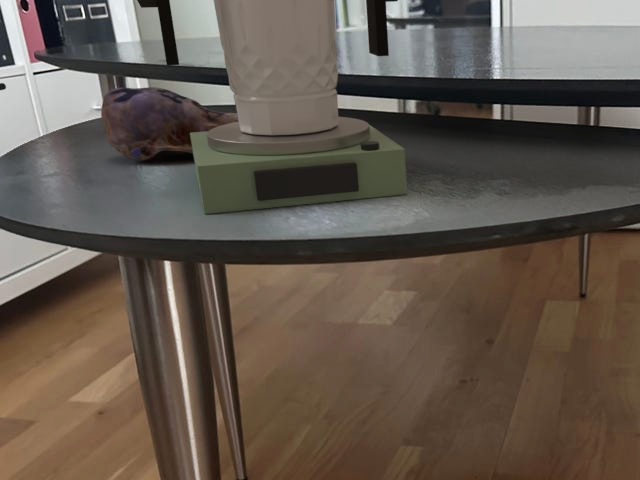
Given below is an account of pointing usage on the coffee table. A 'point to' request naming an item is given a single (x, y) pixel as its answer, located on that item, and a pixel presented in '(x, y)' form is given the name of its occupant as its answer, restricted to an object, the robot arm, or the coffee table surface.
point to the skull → (155, 121)
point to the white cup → (281, 64)
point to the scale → (298, 175)
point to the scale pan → (288, 139)
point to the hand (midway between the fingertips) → (279, 59)
